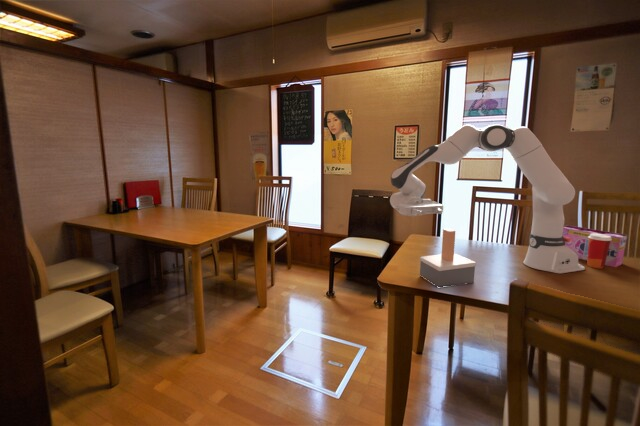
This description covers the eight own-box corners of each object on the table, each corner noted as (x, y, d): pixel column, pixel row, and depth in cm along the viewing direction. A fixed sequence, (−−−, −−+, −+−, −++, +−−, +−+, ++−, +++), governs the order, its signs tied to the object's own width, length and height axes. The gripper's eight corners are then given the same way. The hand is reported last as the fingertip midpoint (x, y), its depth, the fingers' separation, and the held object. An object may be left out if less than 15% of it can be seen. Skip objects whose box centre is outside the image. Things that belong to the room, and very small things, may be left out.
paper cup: (598, 263, 141) (602, 233, 138) (612, 269, 133) (617, 237, 130) (579, 262, 141) (583, 232, 139) (592, 269, 134) (597, 237, 131)
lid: (453, 259, 132) (456, 225, 130) (475, 269, 121) (478, 232, 118) (419, 263, 128) (421, 228, 125) (438, 274, 116) (441, 235, 113)
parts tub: (452, 272, 133) (453, 256, 132) (473, 283, 122) (475, 265, 120) (419, 276, 129) (420, 260, 128) (438, 288, 118) (439, 270, 116)
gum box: (553, 253, 156) (556, 226, 153) (560, 250, 160) (564, 224, 157) (615, 267, 135) (621, 237, 133) (622, 264, 139) (628, 234, 137)
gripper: (393, 200, 141) (410, 206, 128) (432, 198, 146) (452, 204, 134) (392, 214, 142) (409, 221, 129) (430, 211, 148) (450, 218, 135)
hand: (431, 212), depth 131 cm, fingers open, 8 cm apart
